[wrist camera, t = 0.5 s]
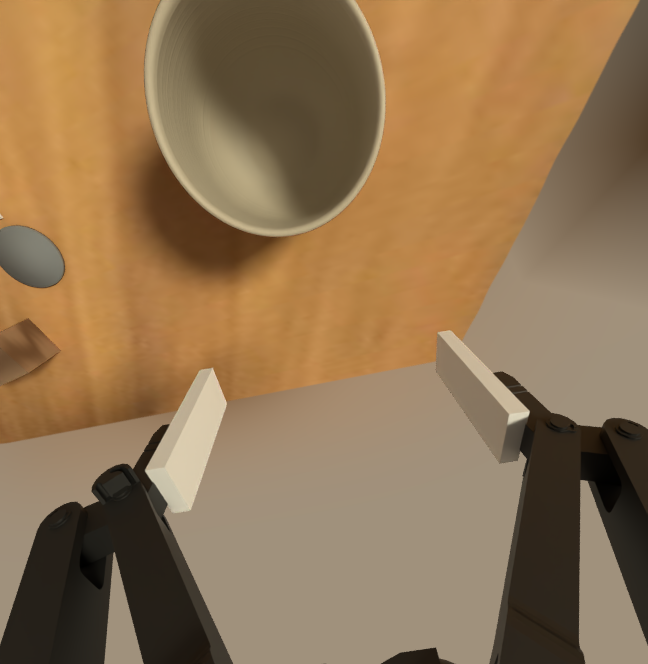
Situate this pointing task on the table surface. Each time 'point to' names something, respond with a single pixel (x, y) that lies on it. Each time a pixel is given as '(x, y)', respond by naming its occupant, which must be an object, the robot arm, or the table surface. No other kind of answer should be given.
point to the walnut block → (23, 350)
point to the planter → (266, 107)
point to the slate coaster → (30, 257)
